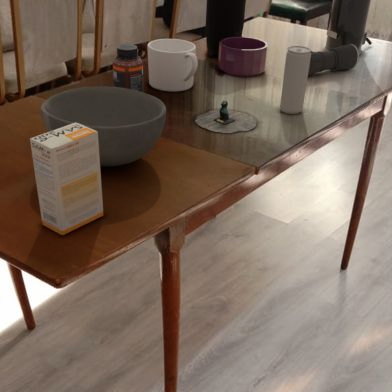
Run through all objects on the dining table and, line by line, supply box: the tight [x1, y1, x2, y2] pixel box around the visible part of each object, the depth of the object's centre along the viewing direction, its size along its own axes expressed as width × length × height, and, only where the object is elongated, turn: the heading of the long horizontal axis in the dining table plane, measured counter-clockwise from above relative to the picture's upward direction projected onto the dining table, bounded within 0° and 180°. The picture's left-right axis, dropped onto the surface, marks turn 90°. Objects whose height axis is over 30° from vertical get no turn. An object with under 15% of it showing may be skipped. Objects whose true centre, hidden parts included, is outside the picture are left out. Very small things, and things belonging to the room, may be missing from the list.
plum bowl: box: [217, 36, 269, 78], centre depth 148 cm, size 11×11×6 cm
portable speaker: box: [204, 0, 247, 58], centre depth 152 cm, size 9×9×20 cm
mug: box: [146, 38, 199, 93], centre depth 136 cm, size 13×10×8 cm
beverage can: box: [279, 45, 312, 115], centre depth 127 cm, size 5×5×12 cm
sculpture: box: [194, 100, 258, 134], centre depth 124 cm, size 12×9×8 cm
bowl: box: [40, 85, 167, 167], centre depth 105 cm, size 20×20×10 cm
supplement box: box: [29, 123, 104, 236], centre depth 88 cm, size 8×5×13 cm, turn 139°
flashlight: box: [308, 44, 360, 76], centre depth 150 cm, size 15×5×5 cm, turn 121°
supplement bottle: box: [112, 43, 144, 93], centre depth 125 cm, size 6×6×11 cm
